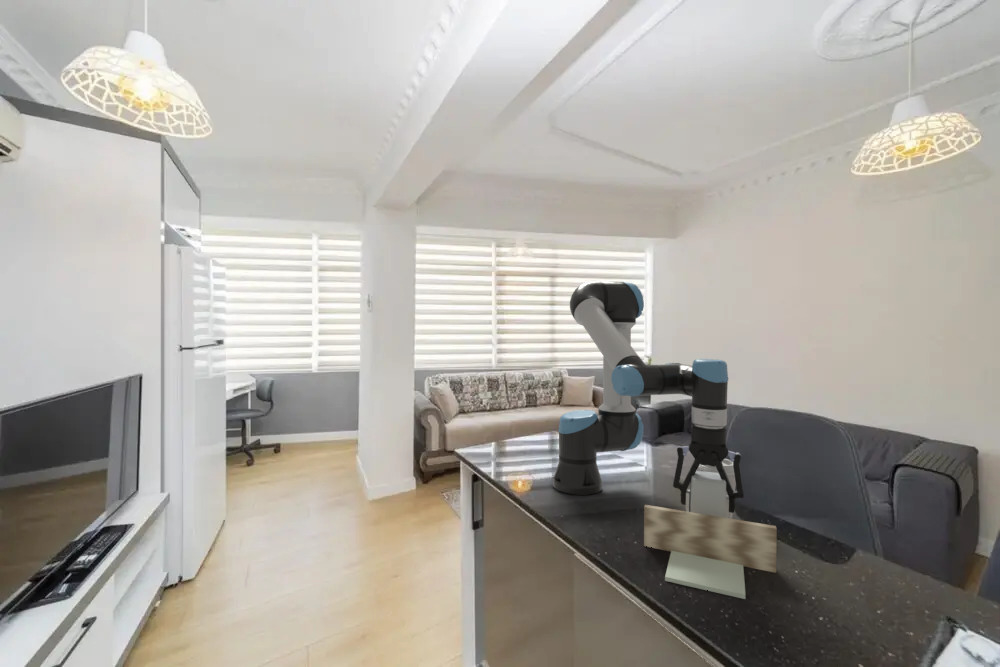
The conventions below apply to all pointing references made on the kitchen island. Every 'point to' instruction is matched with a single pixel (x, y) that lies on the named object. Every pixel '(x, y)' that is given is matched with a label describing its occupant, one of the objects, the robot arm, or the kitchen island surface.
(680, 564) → the sage pad
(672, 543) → the wooden screen
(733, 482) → the coffee cup
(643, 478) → the kitchen island surface
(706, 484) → the supplement box
